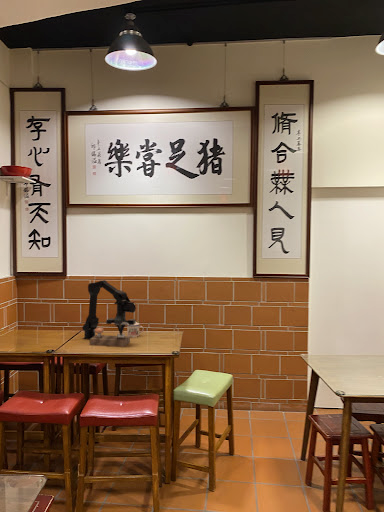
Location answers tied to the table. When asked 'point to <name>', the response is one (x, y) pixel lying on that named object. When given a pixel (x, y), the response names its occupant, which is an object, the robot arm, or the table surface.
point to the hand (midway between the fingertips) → (120, 334)
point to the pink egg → (99, 331)
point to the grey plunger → (120, 336)
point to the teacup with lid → (133, 330)
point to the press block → (109, 341)
